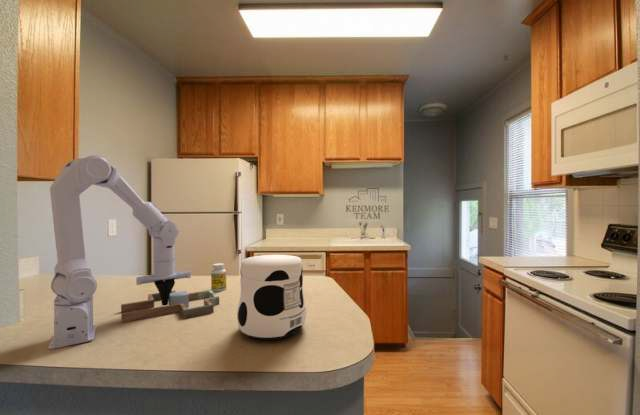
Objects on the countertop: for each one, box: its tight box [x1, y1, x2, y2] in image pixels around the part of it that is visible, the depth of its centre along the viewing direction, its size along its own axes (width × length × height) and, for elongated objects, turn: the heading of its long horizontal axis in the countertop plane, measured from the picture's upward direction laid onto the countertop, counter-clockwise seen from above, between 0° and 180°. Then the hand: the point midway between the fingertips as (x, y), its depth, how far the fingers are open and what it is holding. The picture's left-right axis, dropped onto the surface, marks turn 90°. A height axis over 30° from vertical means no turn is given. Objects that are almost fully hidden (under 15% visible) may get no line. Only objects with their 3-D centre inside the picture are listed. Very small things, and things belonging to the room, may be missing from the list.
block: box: [168, 290, 190, 309], centre depth 92 cm, size 5×5×4 cm
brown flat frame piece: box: [120, 289, 220, 323], centre depth 91 cm, size 23×26×2 cm
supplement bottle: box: [210, 262, 227, 292], centre depth 110 cm, size 5×5×10 cm
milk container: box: [236, 254, 307, 341], centre depth 75 cm, size 17×17×18 cm
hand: (164, 304), depth 90 cm, fingers closed
